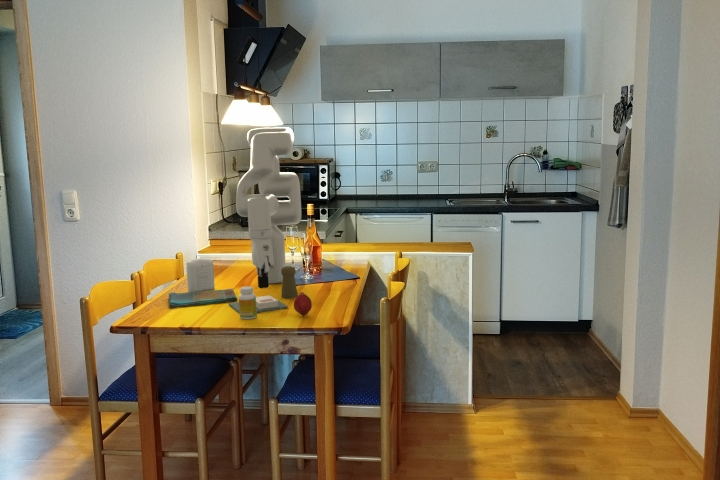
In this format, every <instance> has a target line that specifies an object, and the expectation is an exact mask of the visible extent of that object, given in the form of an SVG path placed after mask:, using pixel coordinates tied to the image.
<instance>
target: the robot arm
mask: <svg viewBox="0 0 720 480" xmlns="http://www.w3.org/2000/svg"><path fill="white" fill-rule="evenodd" d="M294 134H295V133H294V131H293V129H291V128H290V127H285V126H284V127H257V128H252V129H250V130H249V131H248V132H247V134H246V135H247V136H246V138H247V142H248V145H249V147H250V163H249V164H250V166H249V170H248V171H247V172H246V173H245V174H243V176H242V177H241V178H240V180H239V181H238V184H237V186H236V194H235V210H236V212H237V214H238V215H239V216H240V217H243V218H244V217H245V218H246V217H247V222H248V224H247V225H248V237H249V238H248V239H249V240H251V262H252V265H253V266H254V267H256V274H257V288H259V289H266V288H267V289H268V288H269V287H270V286H269V285H270V284H273V285H274V284H282V281H283V276H282V274H281V269H282V268H283V267H285V266H286V265H287V264H286V263H287V262H286V247H285V234H284V233H283V232H282V230H281V229H280V228H279V227H278V226H287V225H289V226H290V225H292V226H293V225H297V224H299V223H300V222H301V221H302V201H301V199H302V198H301V183H300V179H299V176H298V174H296V173H295V172H289V171H287V172H281V171H280V170H281V168H280V159H279V156H289V155H290V154H291V153H292V151H293V147H294V144H295V136H294ZM257 184H258V192H259V193H257V194H255V193H254V194H253V193H252V194H246V193H247V191H248V190H249V189H250V188H252V187H253V186H255V185H257ZM278 198H288V199H289V200H279V199H278ZM295 270H296V273H295V275H296V274H298V273H299V270H298V268H295Z"/></svg>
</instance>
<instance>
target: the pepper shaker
mask: <svg viewBox="0 0 720 480" xmlns="http://www.w3.org/2000/svg"><path fill="white" fill-rule="evenodd" d="M295 269H296V268H295V267H294V266H292V265H287V266H285V267H283V268H282V269H281V274H282V276H283V281H282V283H281V297H280V298H281V299H284V300H285V299H286V300H287V299H288V300H290V299H296V297H297V296H298V295H299V293H298V290H297V283H296V278H295V275H296V274H297V273H296V270H295ZM295 273H296V274H295Z"/></svg>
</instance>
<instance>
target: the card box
mask: <svg viewBox="0 0 720 480" xmlns="http://www.w3.org/2000/svg"><path fill="white" fill-rule="evenodd" d="M273 297H274V296H271V295H262V296H256V307H257V308H259V309H265V308H272V307H278V300H279V299H277V298H276V297H274V298H273ZM275 298H276V299H277V300H276V299H275Z"/></svg>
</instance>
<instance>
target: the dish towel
mask: <svg viewBox="0 0 720 480" xmlns="http://www.w3.org/2000/svg"><path fill="white" fill-rule="evenodd" d="M168 298H169V299H168V302H169V305H168V308H169V309H178V307H179V308H187V306H188V307H193V306H194V307H195V306H203V305H213V304H215V305H216V304H223V303H225V304H226V303H235V302H238V298H237V295H236V294H235V291H234V288H227V289H211V290H204V291H197V292H169V293H168Z"/></svg>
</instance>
